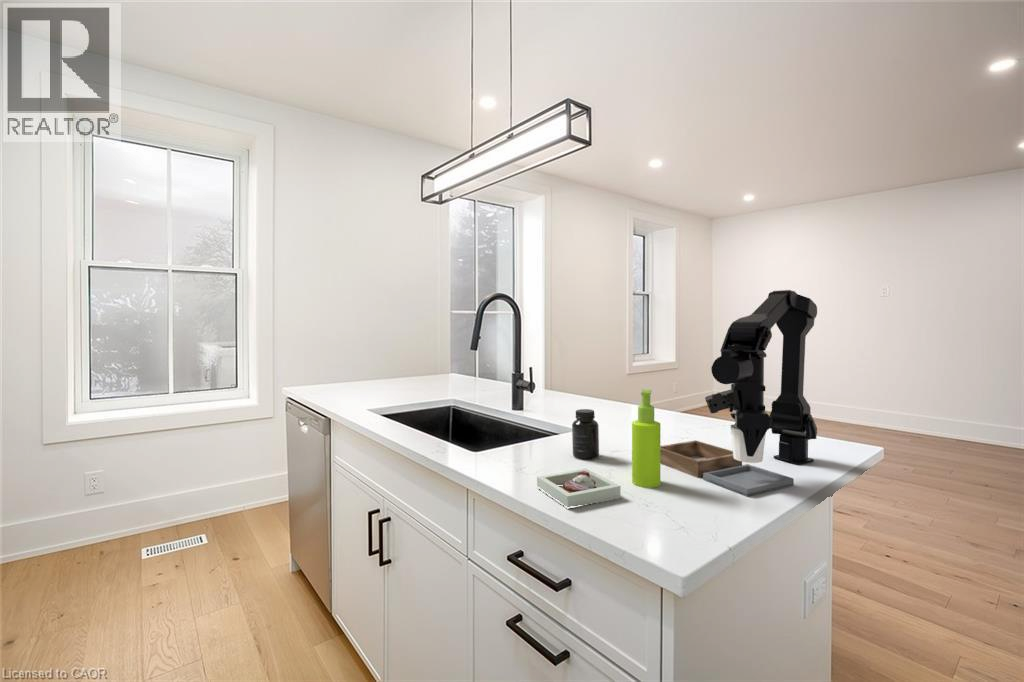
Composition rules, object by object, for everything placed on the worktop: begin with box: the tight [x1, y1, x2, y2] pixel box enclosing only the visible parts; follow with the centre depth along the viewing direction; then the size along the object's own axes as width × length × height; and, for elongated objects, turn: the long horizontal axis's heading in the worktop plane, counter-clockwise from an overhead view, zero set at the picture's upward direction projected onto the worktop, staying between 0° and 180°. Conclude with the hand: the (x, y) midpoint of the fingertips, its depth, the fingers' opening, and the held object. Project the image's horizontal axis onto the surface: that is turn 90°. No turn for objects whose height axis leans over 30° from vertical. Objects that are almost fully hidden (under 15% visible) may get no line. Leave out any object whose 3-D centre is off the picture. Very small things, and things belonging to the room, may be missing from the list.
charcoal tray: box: [702, 463, 795, 497], centre depth 99 cm, size 14×11×2 cm
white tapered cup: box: [729, 423, 767, 464], centre depth 99 cm, size 7×7×7 cm
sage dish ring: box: [536, 468, 621, 507], centre depth 94 cm, size 12×12×2 cm
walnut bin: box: [660, 440, 743, 479], centre depth 112 cm, size 14×14×4 cm
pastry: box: [561, 471, 597, 493], centre depth 93 cm, size 8×8×5 cm
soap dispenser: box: [631, 389, 661, 488], centre depth 100 cm, size 6×7×20 cm
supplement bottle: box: [571, 408, 600, 461], centre depth 120 cm, size 7×7×12 cm
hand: (748, 452), depth 99 cm, fingers closed on white tapered cup, 6 cm apart
